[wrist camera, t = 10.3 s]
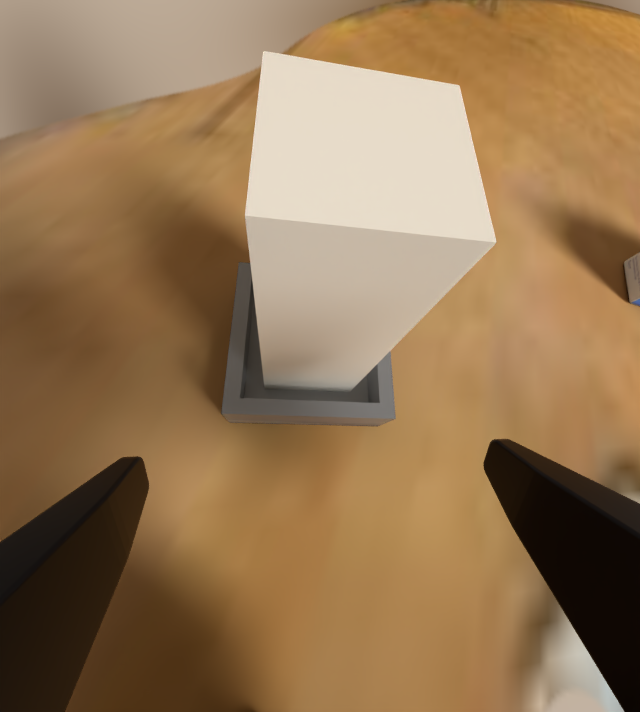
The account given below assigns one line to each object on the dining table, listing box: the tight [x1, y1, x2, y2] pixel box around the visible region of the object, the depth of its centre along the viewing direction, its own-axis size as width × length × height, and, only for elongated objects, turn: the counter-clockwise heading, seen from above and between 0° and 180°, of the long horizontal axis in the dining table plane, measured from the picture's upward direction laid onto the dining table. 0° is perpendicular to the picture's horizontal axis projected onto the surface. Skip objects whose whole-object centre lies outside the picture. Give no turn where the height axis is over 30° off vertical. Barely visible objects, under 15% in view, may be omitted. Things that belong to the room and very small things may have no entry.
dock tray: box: [221, 262, 395, 426], centre depth 18 cm, size 9×9×3 cm
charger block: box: [245, 51, 496, 392], centre depth 13 cm, size 5×5×13 cm
